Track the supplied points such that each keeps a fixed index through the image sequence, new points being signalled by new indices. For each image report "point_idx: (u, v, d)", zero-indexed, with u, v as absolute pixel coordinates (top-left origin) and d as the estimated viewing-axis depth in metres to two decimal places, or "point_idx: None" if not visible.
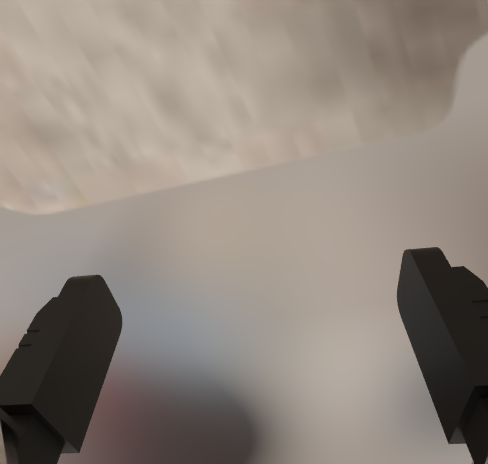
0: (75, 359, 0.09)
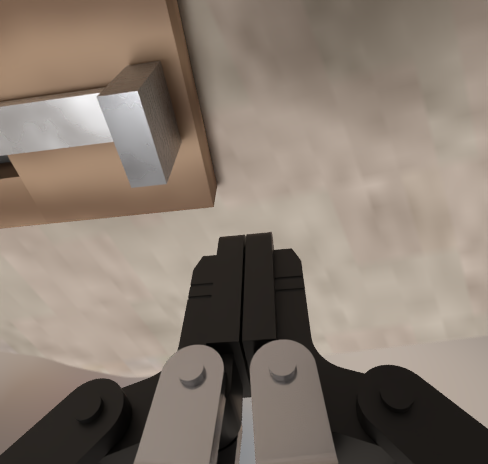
0: None
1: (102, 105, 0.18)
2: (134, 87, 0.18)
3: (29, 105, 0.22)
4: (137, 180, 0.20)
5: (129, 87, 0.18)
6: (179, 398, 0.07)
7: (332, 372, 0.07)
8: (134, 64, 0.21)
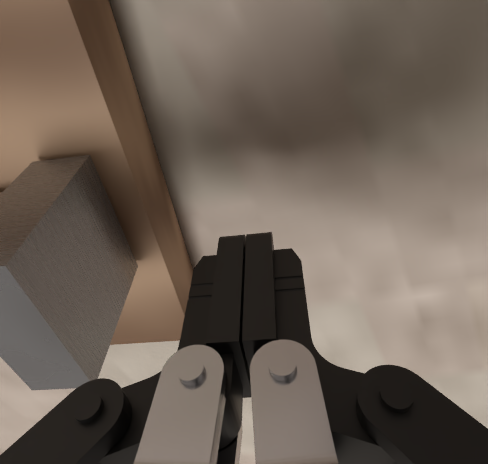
0: None
1: None
2: (7, 247, 0.09)
3: None
4: (39, 382, 0.11)
5: None
6: (179, 398, 0.07)
7: (332, 372, 0.07)
8: (45, 160, 0.12)
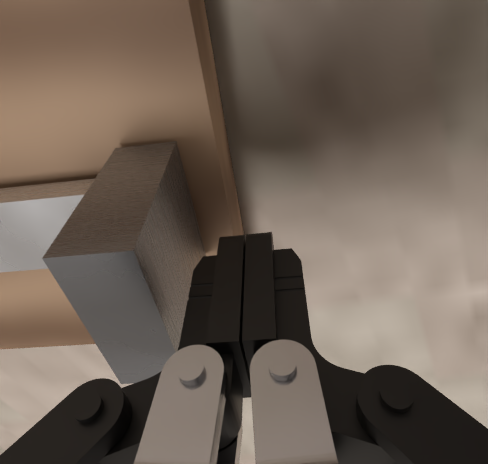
0: None
1: (56, 271, 0.08)
2: (126, 232, 0.08)
3: None
4: (131, 375, 0.11)
5: (116, 230, 0.08)
6: (179, 398, 0.07)
7: (332, 372, 0.07)
8: (129, 146, 0.12)
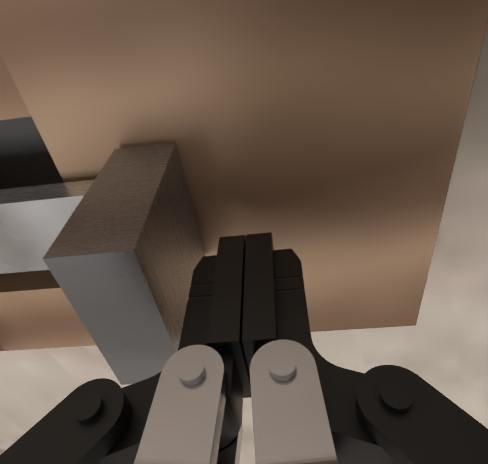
0: None
1: (56, 272, 0.08)
2: (127, 232, 0.08)
3: None
4: (131, 376, 0.11)
5: (116, 231, 0.08)
6: (179, 398, 0.07)
7: (332, 372, 0.07)
8: (128, 147, 0.12)
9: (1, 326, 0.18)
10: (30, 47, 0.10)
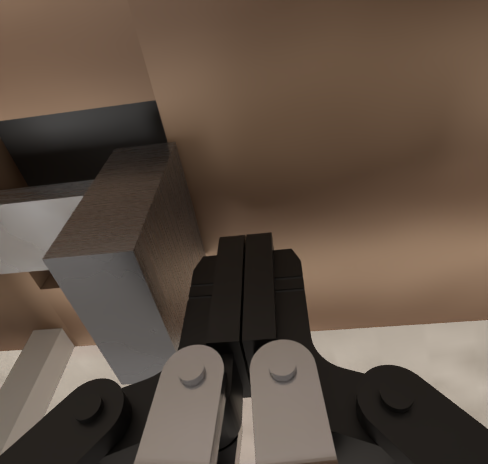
0: None
1: (56, 272, 0.08)
2: (126, 233, 0.08)
3: None
4: (132, 376, 0.11)
5: (115, 231, 0.08)
6: (179, 398, 0.07)
7: (332, 372, 0.07)
8: (128, 147, 0.12)
9: (80, 321, 0.18)
10: (170, 26, 0.10)
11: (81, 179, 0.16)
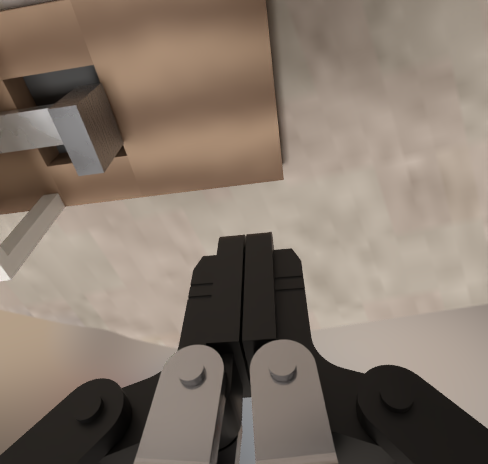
0: None
1: (52, 115, 0.25)
2: (75, 102, 0.25)
3: (4, 116, 0.29)
4: (82, 170, 0.27)
5: (71, 102, 0.25)
6: (179, 398, 0.07)
7: (332, 372, 0.07)
8: None
9: (67, 187, 0.35)
10: (96, 35, 0.27)
11: None
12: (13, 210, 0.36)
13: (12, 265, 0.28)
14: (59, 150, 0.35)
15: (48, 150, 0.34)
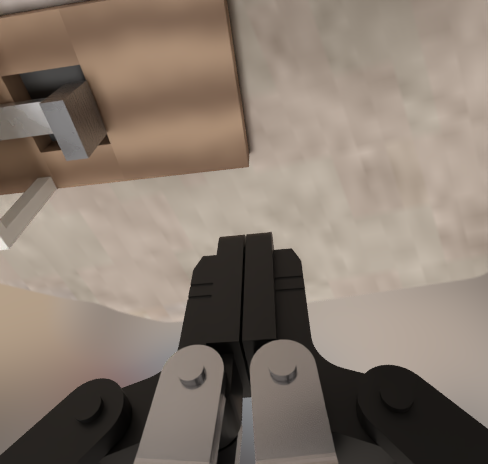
0: None
1: (43, 108, 0.29)
2: (62, 98, 0.30)
3: (3, 108, 0.34)
4: (69, 156, 0.32)
5: (59, 98, 0.30)
6: (179, 398, 0.07)
7: (332, 372, 0.07)
8: (70, 82, 0.33)
9: (59, 171, 0.39)
10: (81, 39, 0.31)
11: None
12: (11, 191, 0.41)
13: (10, 236, 0.33)
14: (52, 138, 0.40)
15: (42, 138, 0.38)
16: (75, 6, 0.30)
